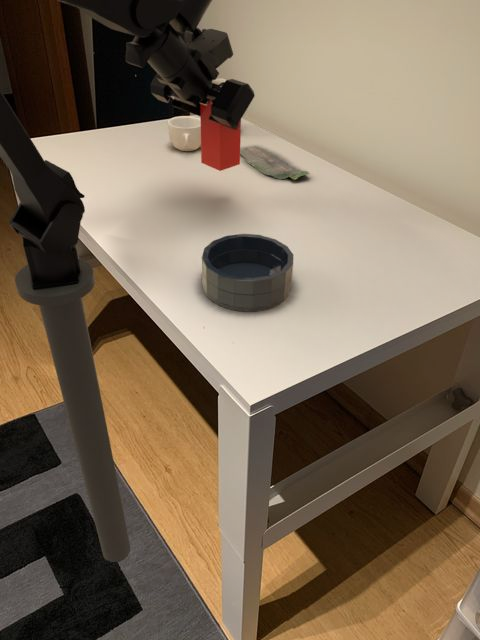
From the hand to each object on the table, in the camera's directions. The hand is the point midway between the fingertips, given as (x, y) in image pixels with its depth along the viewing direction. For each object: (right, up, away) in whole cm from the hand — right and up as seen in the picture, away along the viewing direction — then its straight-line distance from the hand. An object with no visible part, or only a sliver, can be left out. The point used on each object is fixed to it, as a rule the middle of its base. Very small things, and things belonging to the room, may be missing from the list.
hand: (226, 123), depth 93 cm
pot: (+4, -29, -13) cm, 32 cm away
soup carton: (-1, -6, +3) cm, 7 cm away
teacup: (-10, +5, +26) cm, 29 cm away
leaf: (+8, 0, +22) cm, 24 cm away
